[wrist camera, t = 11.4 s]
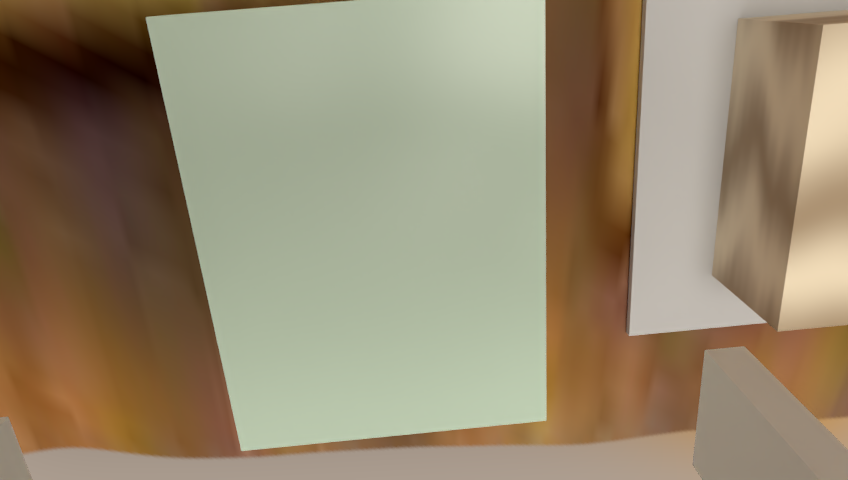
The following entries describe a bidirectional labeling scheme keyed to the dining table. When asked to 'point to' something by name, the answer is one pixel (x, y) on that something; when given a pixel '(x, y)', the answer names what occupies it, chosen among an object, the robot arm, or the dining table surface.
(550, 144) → the dining table surface
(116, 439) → the dining table surface
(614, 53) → the dining table surface
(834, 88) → the block
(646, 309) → the mat
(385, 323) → the cover board
